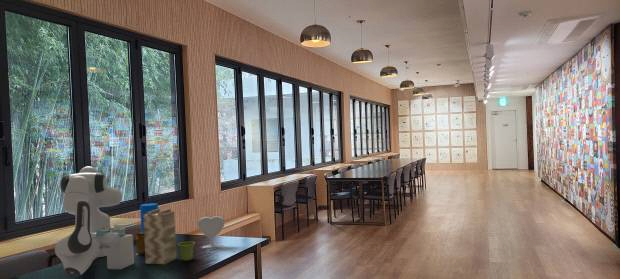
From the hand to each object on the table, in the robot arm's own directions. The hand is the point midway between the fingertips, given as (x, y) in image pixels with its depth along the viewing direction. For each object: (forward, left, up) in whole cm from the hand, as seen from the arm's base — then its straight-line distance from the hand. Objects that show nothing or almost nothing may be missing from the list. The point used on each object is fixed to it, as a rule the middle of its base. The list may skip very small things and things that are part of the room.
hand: (108, 228), depth 231 cm
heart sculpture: (+31, +53, -22) cm, 65 cm away
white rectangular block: (0, +9, -22) cm, 23 cm away
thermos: (-15, +59, -22) cm, 65 cm away
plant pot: (+30, +24, -22) cm, 44 cm away
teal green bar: (-1, +3, -4) cm, 5 cm away
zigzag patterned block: (+17, +20, -22) cm, 34 cm away
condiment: (-4, +35, -22) cm, 42 cm away
